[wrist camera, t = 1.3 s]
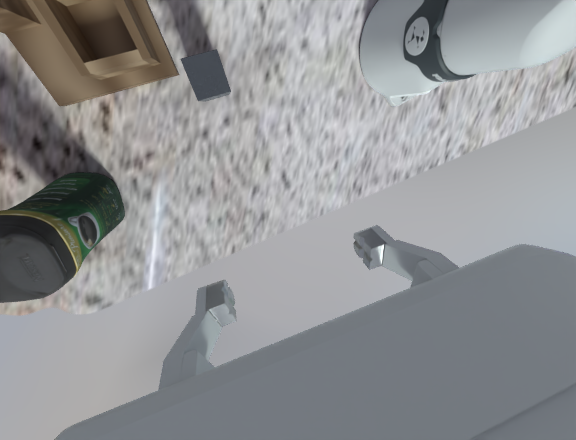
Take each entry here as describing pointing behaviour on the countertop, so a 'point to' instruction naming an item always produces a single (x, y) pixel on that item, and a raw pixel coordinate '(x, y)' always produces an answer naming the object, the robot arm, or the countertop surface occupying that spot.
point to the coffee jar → (55, 234)
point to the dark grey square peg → (206, 75)
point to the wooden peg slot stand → (87, 45)
